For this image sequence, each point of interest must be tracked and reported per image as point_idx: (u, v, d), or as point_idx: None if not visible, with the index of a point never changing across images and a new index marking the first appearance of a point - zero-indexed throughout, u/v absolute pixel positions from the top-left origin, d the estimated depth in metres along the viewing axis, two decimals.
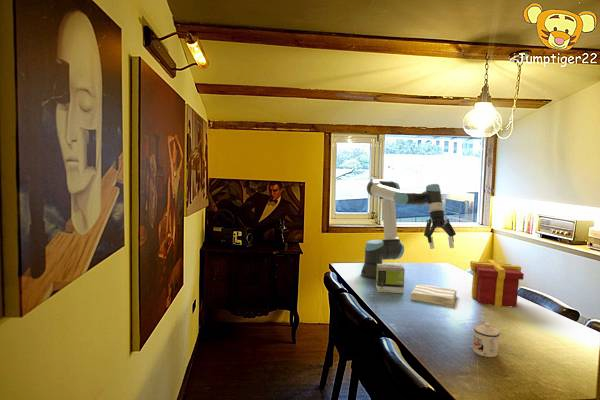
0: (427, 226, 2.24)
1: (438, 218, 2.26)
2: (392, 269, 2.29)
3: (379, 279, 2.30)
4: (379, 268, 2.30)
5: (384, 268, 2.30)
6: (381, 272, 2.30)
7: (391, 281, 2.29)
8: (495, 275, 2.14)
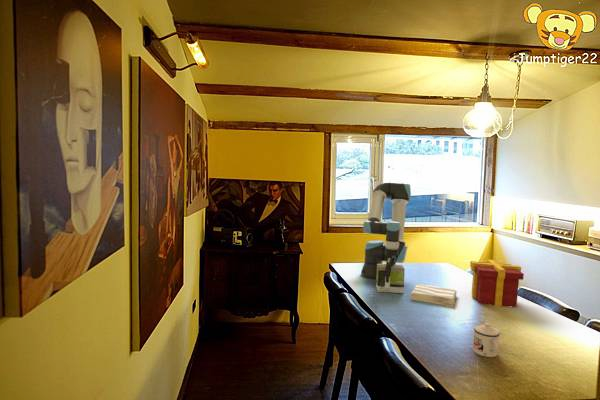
0: (388, 266, 2.27)
1: (393, 256, 2.33)
2: (392, 269, 2.29)
3: (379, 279, 2.30)
4: (379, 268, 2.30)
5: (384, 268, 2.30)
6: (381, 272, 2.30)
7: (391, 281, 2.29)
8: (495, 275, 2.14)
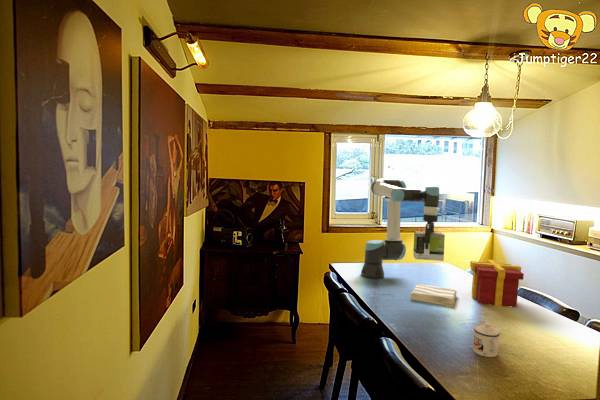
0: (427, 232, 2.16)
1: (432, 222, 2.22)
2: (431, 235, 2.19)
3: (417, 246, 2.20)
4: (417, 234, 2.20)
5: (423, 234, 2.19)
6: (420, 238, 2.20)
7: (430, 248, 2.19)
8: (495, 275, 2.14)
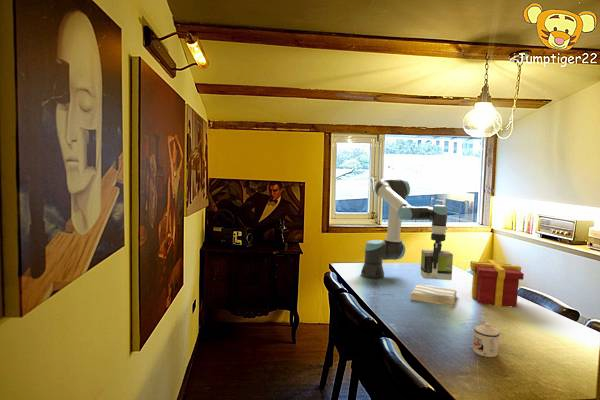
0: (436, 252, 2.15)
1: None
2: (439, 255, 2.18)
3: (426, 265, 2.19)
4: (426, 254, 2.19)
5: (431, 254, 2.18)
6: (428, 258, 2.19)
7: (438, 267, 2.18)
8: (495, 275, 2.14)
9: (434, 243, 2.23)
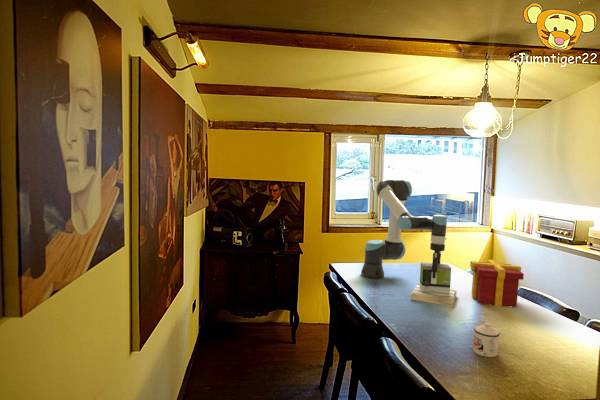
0: (435, 261, 2.16)
1: (439, 251, 2.22)
2: (438, 268, 2.19)
3: (424, 278, 2.20)
4: (424, 267, 2.20)
5: (429, 267, 2.20)
6: (426, 271, 2.20)
7: (436, 281, 2.19)
8: (495, 275, 2.14)
9: None
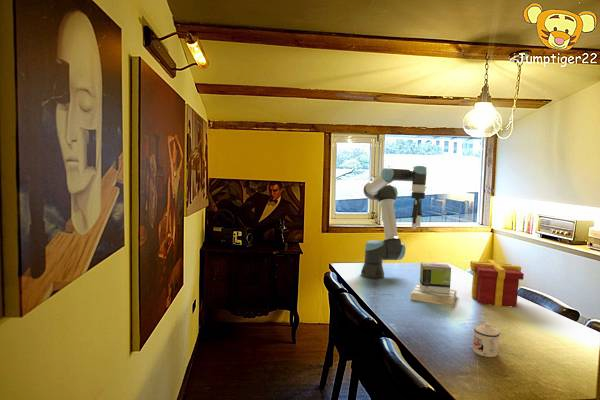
0: (415, 207, 2.30)
1: (419, 199, 2.36)
2: (438, 268, 2.19)
3: (424, 278, 2.20)
4: (424, 267, 2.20)
5: (429, 267, 2.20)
6: (426, 271, 2.20)
7: (436, 281, 2.19)
8: (495, 275, 2.14)
9: None
